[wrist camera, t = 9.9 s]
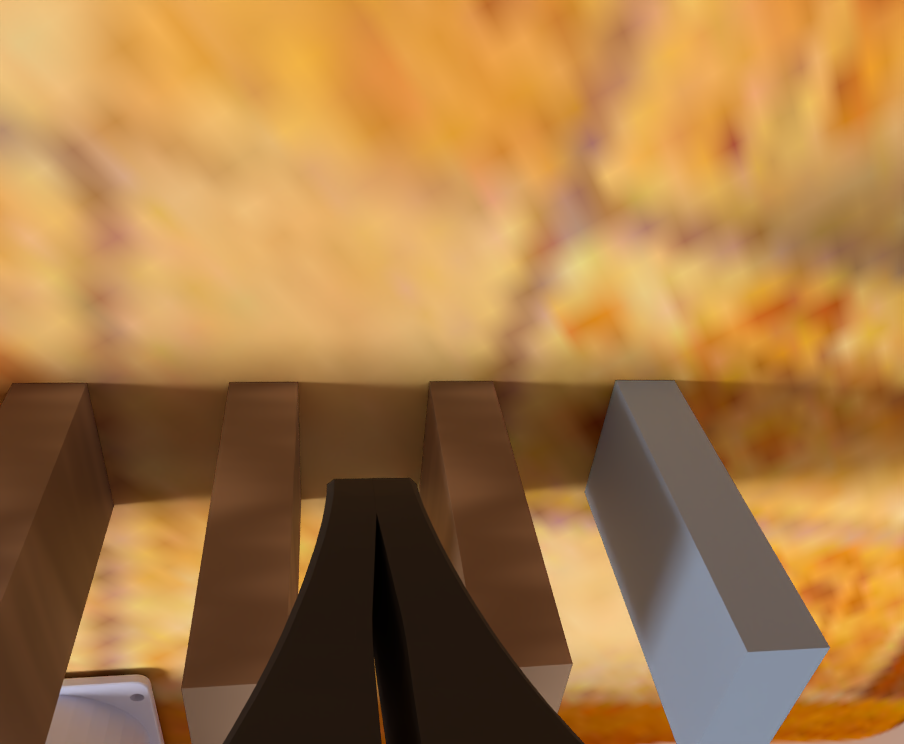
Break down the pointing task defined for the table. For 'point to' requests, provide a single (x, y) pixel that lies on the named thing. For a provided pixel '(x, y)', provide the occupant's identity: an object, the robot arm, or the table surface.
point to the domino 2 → (245, 556)
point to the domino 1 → (45, 545)
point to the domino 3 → (491, 529)
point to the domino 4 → (697, 573)
